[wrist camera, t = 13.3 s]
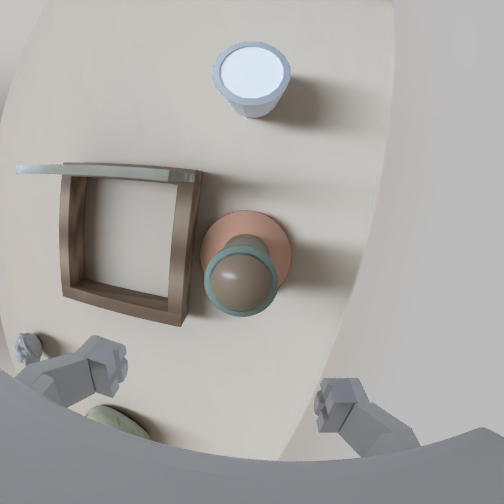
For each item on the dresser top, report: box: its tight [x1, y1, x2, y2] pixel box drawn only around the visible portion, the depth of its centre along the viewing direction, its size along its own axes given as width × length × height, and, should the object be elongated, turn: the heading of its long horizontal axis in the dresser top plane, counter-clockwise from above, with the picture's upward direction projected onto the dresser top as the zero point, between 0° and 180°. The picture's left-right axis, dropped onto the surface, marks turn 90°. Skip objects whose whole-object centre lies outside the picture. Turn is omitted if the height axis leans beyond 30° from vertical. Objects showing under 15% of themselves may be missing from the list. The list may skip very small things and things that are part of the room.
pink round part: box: [200, 211, 292, 287], centre depth 30 cm, size 10×10×1 cm
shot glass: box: [212, 42, 290, 118], centre depth 23 cm, size 7×7×7 cm
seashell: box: [85, 406, 151, 440], centre depth 35 cm, size 13×8×10 cm
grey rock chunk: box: [14, 333, 42, 365], centre depth 32 cm, size 6×7×7 cm
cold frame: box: [16, 163, 203, 327], centre depth 25 cm, size 17×17×12 cm
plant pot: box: [204, 234, 278, 317], centre depth 26 cm, size 6×6×8 cm
